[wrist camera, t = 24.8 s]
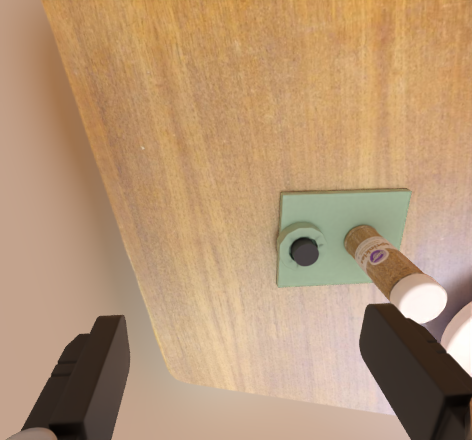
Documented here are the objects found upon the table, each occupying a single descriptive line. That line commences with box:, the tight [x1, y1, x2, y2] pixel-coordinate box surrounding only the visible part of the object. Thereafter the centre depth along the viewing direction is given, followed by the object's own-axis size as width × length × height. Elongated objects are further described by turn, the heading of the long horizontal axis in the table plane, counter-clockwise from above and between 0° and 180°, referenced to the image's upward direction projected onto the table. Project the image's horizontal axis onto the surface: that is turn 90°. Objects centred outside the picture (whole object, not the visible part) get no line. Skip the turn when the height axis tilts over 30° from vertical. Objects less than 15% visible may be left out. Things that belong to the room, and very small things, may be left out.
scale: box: [276, 189, 412, 288], centre depth 41 cm, size 16×13×3 cm
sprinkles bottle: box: [344, 225, 447, 324], centre depth 35 cm, size 5×5×13 cm
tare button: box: [291, 238, 319, 266], centre depth 39 cm, size 3×3×2 cm
